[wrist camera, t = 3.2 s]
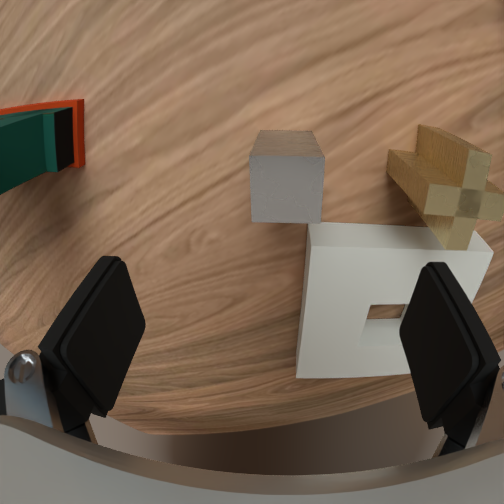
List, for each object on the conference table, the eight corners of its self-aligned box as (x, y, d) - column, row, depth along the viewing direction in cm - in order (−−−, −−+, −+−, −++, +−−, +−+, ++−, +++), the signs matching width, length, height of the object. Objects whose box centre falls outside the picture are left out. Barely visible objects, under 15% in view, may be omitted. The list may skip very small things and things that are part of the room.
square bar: (311, 130, 22) (324, 157, 15) (310, 178, 24) (320, 223, 17) (260, 130, 22) (249, 155, 15) (261, 177, 24) (251, 222, 18)
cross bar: (460, 132, 19) (515, 161, 13) (447, 204, 23) (490, 251, 17) (391, 119, 20) (436, 142, 13) (382, 198, 24) (414, 248, 17)
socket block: (475, 230, 24) (493, 252, 21) (425, 347, 34) (432, 370, 31) (307, 221, 26) (311, 246, 23) (296, 351, 36) (295, 378, 32)
